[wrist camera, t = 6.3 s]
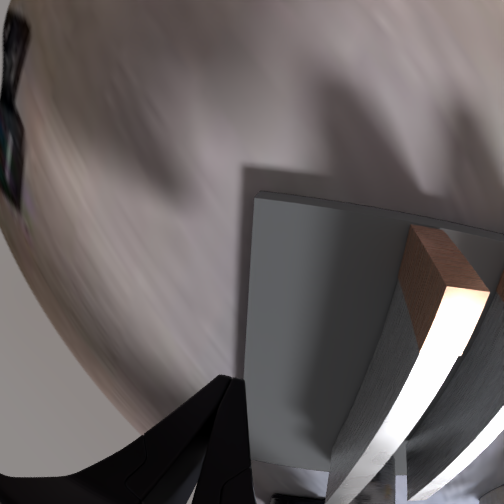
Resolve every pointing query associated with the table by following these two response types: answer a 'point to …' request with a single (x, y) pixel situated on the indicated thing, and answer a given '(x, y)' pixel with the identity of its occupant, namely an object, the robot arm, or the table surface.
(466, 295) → the tongs hinged arm
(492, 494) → the house plant
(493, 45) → the table surface
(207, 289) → the table surface
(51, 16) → the table surface
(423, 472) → the arm
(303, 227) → the charcoal mat
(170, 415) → the robot arm
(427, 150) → the table surface
